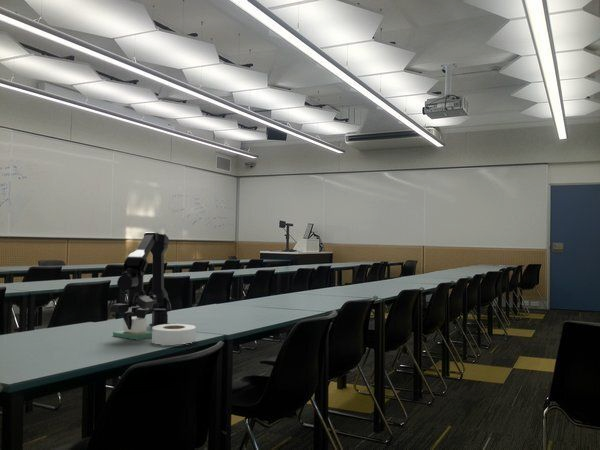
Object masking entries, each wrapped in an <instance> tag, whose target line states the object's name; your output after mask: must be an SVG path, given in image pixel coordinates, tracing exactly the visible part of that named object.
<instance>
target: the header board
mask: <svg viewBox="0 0 600 450" xmlns="http://www.w3.org/2000/svg"><path fill="white" fill-rule="evenodd" d="M112 336H113V337H117V338H121V337H122V338H123V339H127V338H129V339H128V340H133V339H136V340H135V341H139V340H138V339H141V340H144V339H143V338H146V339H150V338H149V337H152V331H149V330H146V332H142V333H132V332H126V331H123V330H119V331H113V332H112Z"/></svg>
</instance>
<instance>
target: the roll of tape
mask: <svg viewBox="0 0 600 450" xmlns="http://www.w3.org/2000/svg"><path fill="white" fill-rule="evenodd" d="M151 332H152V338H151V343H152V344H153V343H155V344H154V345H156V344H161V345H160V346H165V345H174V344H183V343H190V342H194V341H195V342H196V336H197V333H196V332H197V327H196V326H195V325H193V324H184V323H169V324H163V325H157V326H152V327H151ZM195 342H194V343H195Z"/></svg>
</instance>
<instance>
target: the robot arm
mask: <svg viewBox="0 0 600 450" xmlns="http://www.w3.org/2000/svg"><path fill="white" fill-rule="evenodd" d="M169 242H170V240H169V236H167V234H166V233H158V232H156V231H146V232H144V235H143V237H142V239H141V241H140V243H139V244H138V246H137V247H136V249H135V251H132V252H130V253H129V254H128V256H127V257H126V258H125V260H124V262H123V265H122V269H121V272H120V273H121V274H122V275H120V276H119V277H118V279H117V281H116V285H117V287H118V289H120V290H121V291H125V294H126V295H127V299H126V301H124V303H113V304H111V306H110V311H109V312H111V313H118V314H120V315H121V317H122V319H124V321H125V323H126V325H127V327H128V329H129V330H131V326H132V317H133V315H134V313H135V315H136V317H138V318H145V319H146V315H147V314H148V313H149V312H151V323H149V324H148V325H149V326H152V327H154V326H157V325H163V324H170V323H169V322H168V321H169V320H168V318H169V317H168V316H169V315H168V312H171V311H172V305H171V301H170V298H169V294H168V292H167V290H166V288H165V268H164V267H165V266H164V265H165V262H164V261H165V253H166V252H167V250H168V247H169V244H170V243H169ZM150 253H151V254H152V289H151V290H150V292H148V295H147V292H146V290H144V276H145V271H146V269H147V266H148V259H147V258H148V257H149V254H150ZM132 310H135V312H134V311H132Z"/></svg>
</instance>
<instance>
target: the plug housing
mask: <svg viewBox="0 0 600 450" xmlns="http://www.w3.org/2000/svg"><path fill="white" fill-rule="evenodd" d="M122 319H123V318H122ZM122 323H123V325H122V326H123V327H122V331H126V332H132V333H142V332H146V331H147V318H146V317H145V318H138V317H137V316H132V326H131V330H129V329H128V327H127V325H126V323H125V321H124V319H123V321H122Z"/></svg>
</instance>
